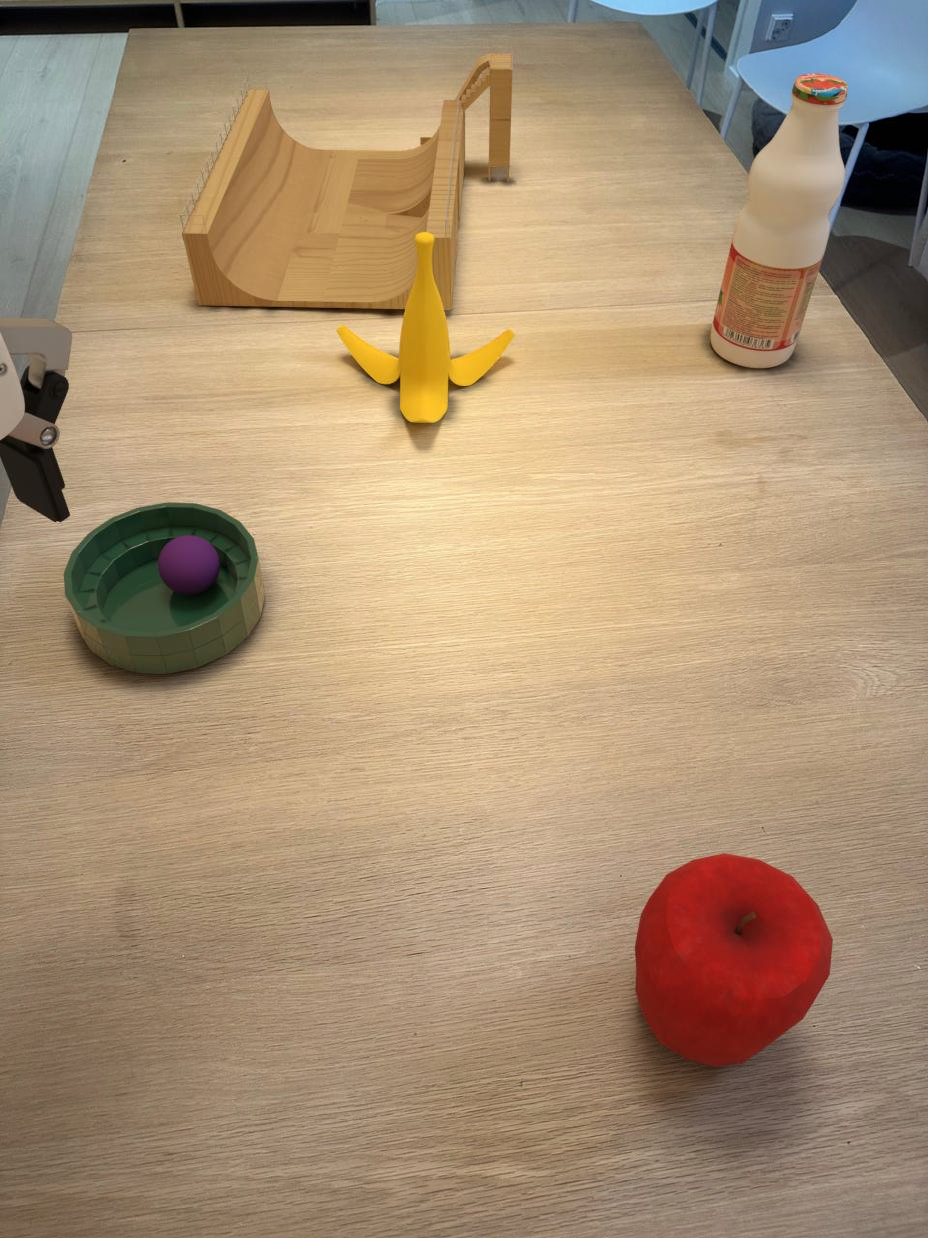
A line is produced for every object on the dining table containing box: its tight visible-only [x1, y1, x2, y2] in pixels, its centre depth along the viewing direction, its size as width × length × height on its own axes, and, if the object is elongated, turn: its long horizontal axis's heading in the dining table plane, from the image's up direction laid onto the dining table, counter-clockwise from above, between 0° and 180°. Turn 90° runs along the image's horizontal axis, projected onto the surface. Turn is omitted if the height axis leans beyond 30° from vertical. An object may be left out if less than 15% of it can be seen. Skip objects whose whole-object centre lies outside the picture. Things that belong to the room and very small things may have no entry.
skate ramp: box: [179, 38, 514, 311], centre depth 125 cm, size 40×35×16 cm
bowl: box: [63, 502, 266, 675], centre depth 84 cm, size 15×15×5 cm
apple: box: [634, 852, 834, 1068], centre depth 59 cm, size 11×10×14 cm
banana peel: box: [336, 232, 516, 424], centre depth 100 cm, size 17×19×17 cm
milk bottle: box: [710, 72, 849, 369], centre depth 104 cm, size 9×9×28 cm
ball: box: [158, 535, 220, 595], centre depth 85 cm, size 5×5×5 cm
